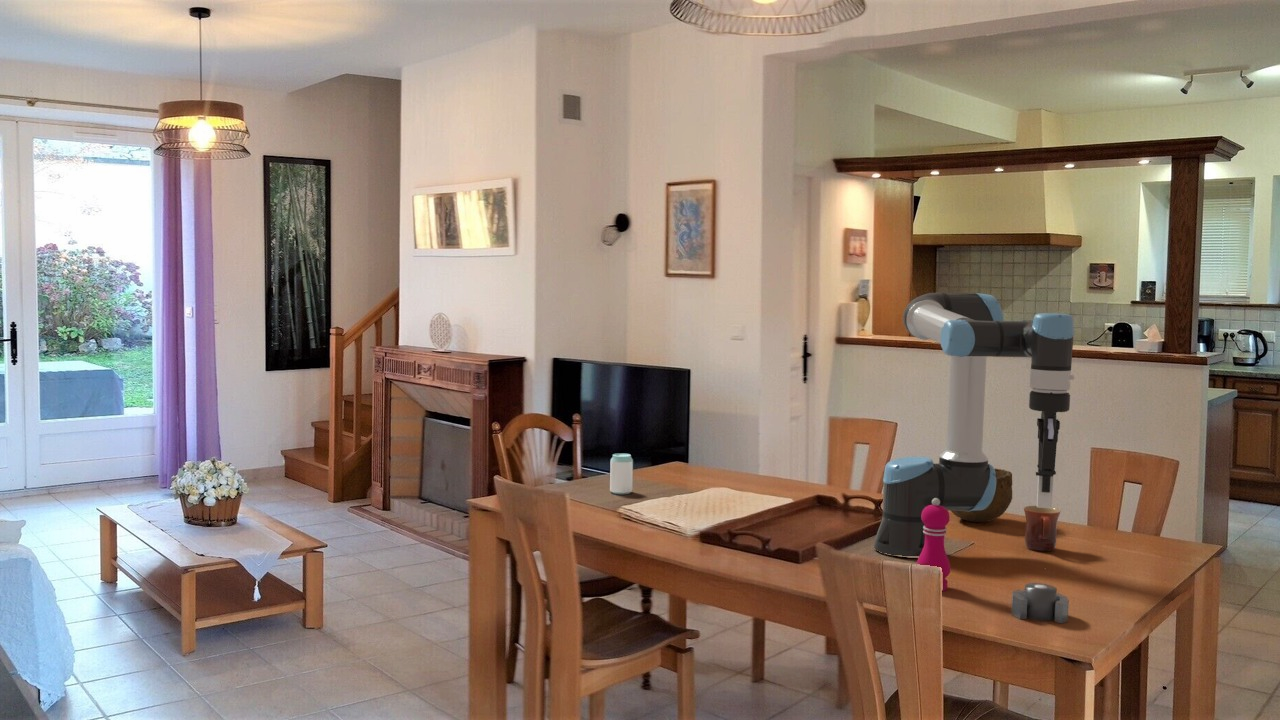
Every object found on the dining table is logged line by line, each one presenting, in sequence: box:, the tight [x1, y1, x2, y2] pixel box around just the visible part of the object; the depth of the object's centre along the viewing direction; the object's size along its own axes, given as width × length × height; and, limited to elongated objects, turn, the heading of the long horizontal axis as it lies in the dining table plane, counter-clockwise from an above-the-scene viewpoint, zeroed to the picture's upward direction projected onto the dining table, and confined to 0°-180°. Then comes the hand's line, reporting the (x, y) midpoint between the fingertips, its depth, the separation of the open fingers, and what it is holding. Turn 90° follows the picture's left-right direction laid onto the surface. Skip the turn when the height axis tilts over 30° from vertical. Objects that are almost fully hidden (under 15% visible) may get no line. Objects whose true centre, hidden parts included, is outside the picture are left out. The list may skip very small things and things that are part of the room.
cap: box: [1024, 582, 1058, 622], centre depth 208 cm, size 6×6×6 cm
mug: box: [1023, 505, 1062, 553], centre depth 260 cm, size 12×9×10 cm
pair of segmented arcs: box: [1010, 589, 1070, 624], centre depth 208 cm, size 10×7×4 cm
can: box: [609, 453, 634, 495], centre depth 322 cm, size 7×7×12 cm
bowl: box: [950, 468, 1013, 523], centre depth 291 cm, size 19×19×15 cm
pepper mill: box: [916, 498, 951, 592], centre depth 226 cm, size 7×7×20 cm
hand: (1044, 507), depth 207 cm, fingers closed
